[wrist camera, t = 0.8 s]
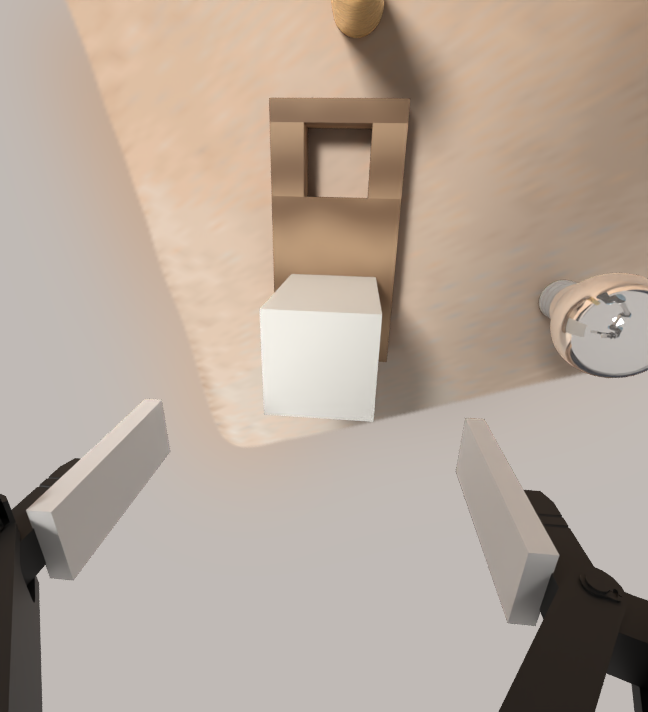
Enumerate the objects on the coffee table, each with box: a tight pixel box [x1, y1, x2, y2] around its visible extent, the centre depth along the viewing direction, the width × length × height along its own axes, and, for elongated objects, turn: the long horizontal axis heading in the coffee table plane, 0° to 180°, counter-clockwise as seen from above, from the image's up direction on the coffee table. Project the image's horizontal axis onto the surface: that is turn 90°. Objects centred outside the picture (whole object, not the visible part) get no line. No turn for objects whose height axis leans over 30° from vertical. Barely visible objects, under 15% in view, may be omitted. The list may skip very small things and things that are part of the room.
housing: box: [260, 274, 382, 422], centre depth 28 cm, size 7×7×11 cm
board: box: [269, 98, 410, 362], centre depth 28 cm, size 20×10×12 cm, turn 179°
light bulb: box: [539, 272, 648, 378], centre depth 28 cm, size 7×7×12 cm
